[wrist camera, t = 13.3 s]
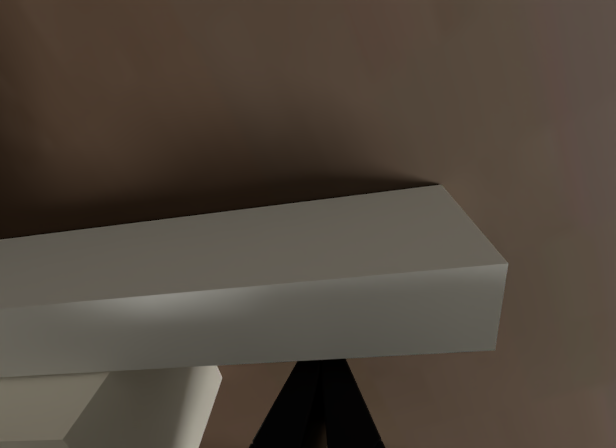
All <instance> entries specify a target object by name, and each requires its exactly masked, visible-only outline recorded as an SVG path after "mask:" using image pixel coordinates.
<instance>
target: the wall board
mask: <svg viewBox="0 0 616 448" xmlns="http://www.w3.org/2000/svg"><path fill="white" fill-rule="evenodd" d="M507 269H508V262H507V261H506V260H505V259H504V258H503V257H502V255H501V254H500V253H499V252H498V251H497V250H496V248H495V247H494V246H493V245H492V244H491V242H490V241H489V240H488V239H487V238H486V237H485V235H484V234H483V233H482V232H481V231H480V229H479V228H478V227H477V226H476V225H475V224H474V222H473V221H472V220H471V219H470V218H469V216H468V215H467V214H466V213H465V212H464V211H463V209H462V208H461V207H460V206H459V205H458V203H457V202H456V201H455V200H454V199H453V198H452V196H451V195H450V194H449V193H448V192H447V191H446V189H445V188H444V187H443V186H442V185H434V186H426V187H418V188H410V189H402V190H394V191H386V192H378V193H370V194H362V195H354V196H346V197H338V198H330V199H322V200H314V201H306V202H298V203H290V204H282V205H274V206H266V207H258V208H250V209H242V210H234V211H226V212H218V213H210V214H201V215H193V216H185V217H177V218H169V219H161V220H153V221H145V222H137V223H129V224H121V225H113V226H105V227H97V228H89V229H81V230H73V231H65V232H57V233H49V234H41V235H33V236H25V237H17V238H9V239H1V240H0V377H14V376H33V375H51V374H69V373H88V372H106V371H124V370H143V369H161V368H179V367H198V366H216V365H234V364H253V363H271V362H289V361H308V360H326V359H345V358H363V357H381V356H400V355H418V354H436V353H455V352H473V351H491V350H495V347H496V340H497V334H498V327H499V321H500V314H501V308H502V301H503V295H504V288H505V282H506V275H507Z"/></svg>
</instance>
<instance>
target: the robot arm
mask: <svg viewBox="0 0 616 448" xmlns="http://www.w3.org/2000/svg"><path fill="white" fill-rule="evenodd" d="M249 448H385V446H384V444H383V442H382V441H381V437H380V435H379V433H378V430H377V428H376V426H375V424H374V421H373V419H372V417H371V415H370V412H369V410H368V408H367V406H366V403H365V401H364V399H363V397H362V394H361V392H360V390H359V388H358V385H357V383H356V381H355V379H354V376H353V374H352V372H351V370H350V368H349V365H348V363H347V361H346V359H326V360H308V361H297V363H296V365H295V367H294V368H293V370H292V372H291V374H290V376H289V377H288V379H287V381H286V383H285V384H284V386H283V388H282V390H281V391H280V393H279V395H278V397H277V399H276V400H275V402H274V404H273V406H272V407H271V409H270V411H269V413H268V414H267V416H266V418H265V420H264V422H263V423H262V425H261V427H260V429H259V430H258V432H257V434H256V436H255V437H254V439H253V444H250V446H249Z"/></svg>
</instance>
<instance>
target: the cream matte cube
mask: <svg viewBox="0 0 616 448" xmlns="http://www.w3.org/2000/svg"><path fill="white" fill-rule="evenodd" d="M221 380H222V376H221V374H220V372H219V369H218V367H217V365H216V366H198V367H179V368H161V369H143V370H124V371H106V372H88V373H69V374H51V375H33V376H14V377H0V448H199V445H200V442H201V439H202V436H203V433H204V430H205V427H206V424H207V421H208V418H209V415H210V413H211V410H212V407H213V404H214V401H215V398H216V395H217V392H218V389H219V386H220V383H221Z"/></svg>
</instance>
